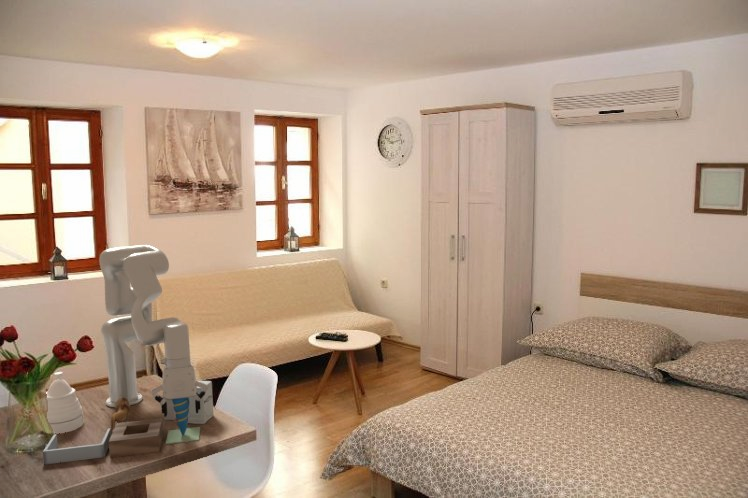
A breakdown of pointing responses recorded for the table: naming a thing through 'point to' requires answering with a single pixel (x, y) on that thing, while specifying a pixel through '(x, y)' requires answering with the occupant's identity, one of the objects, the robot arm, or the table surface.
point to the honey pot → (63, 406)
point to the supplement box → (201, 406)
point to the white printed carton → (170, 410)
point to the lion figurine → (120, 412)
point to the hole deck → (136, 437)
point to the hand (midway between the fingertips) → (181, 413)
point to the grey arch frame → (75, 451)
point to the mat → (189, 435)
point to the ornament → (181, 413)
